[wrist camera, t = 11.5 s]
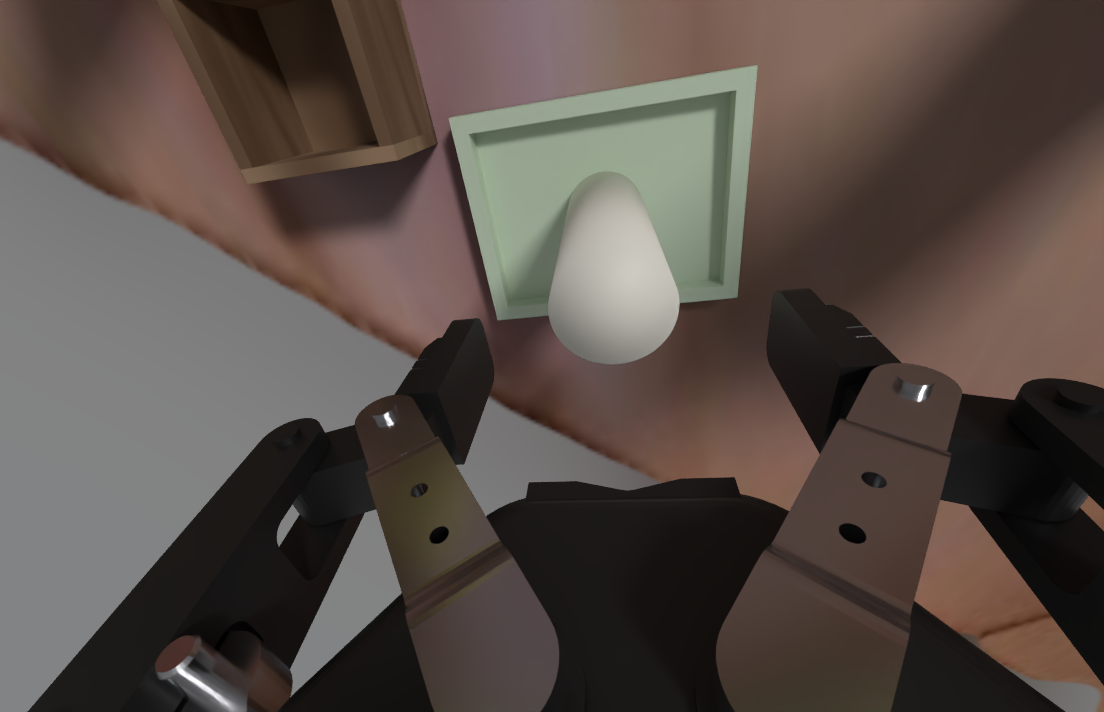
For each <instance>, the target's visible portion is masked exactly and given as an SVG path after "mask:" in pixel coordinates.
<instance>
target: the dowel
mask: <svg viewBox="0 0 1104 712" xmlns="http://www.w3.org/2000/svg"><path fill="white" fill-rule="evenodd" d="M678 313H679V294H678V290H677V287H676V284H675V281H674V279H673V276H672V274H671V271H670V269H669V266H668V264H667V261H666V258H665V256H664V253H663V251H662V248H661V246H660V243H659V241H658V238H657V236H656V233H655V230H654V228H653V225H652V223H651V220H650V218H649V215H648V213H647V210H646V208H645V205H644V202H643V200H642V197H641V195H640V192H639V190H638V188H637V187H636V185H635V184H634V183H633V182H632V181H631V180H630V179H629V178H627V177H626V176H624V175H622V174H620V173H617V172H612V171H602V172H597V173H594V174H592V175H590V176H588V177H586V178H585V179H584V180H582V181H581V182H580V183H579V184H578V185H577V187H576V188H575V190H574V191H573V193H572V195H571V198H570V201H569V205H568V210H567V215H566V220H565V224H564V229H563V234H562V239H561V243H560V248H559V253H558V257H557V262H556V267H555V272H554V276H553V281H552V286H551V291H550V295H549V301H548V314H549V320H550V324H551V326H552V329H553V331H554V333H555V335H556V336H557V338H558V339H559V340H560V342H561V343H562V344H563V345H564V346H565V347H566V348H567V349H568V350H570V351H571V352H572V353H574V354H575V355H577V356H579V357H581V358H583V359H585V360H588V361H591V362H595V363H600V364H623V363H628V362H632V361H635V360H638V359H641V358H643V357H645V356H647V355H648V354H650V353H652V352H653V351H655V350H656V349H657V348H658V347H659V346H661V345H662V343H663V342H664V341H665V340H666V339H667V338H668V336H669V335H670V334H671V332H672V330H673V328H674V326H675V324H676V321H677V318H678Z"/></svg>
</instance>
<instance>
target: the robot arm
mask: <svg viewBox="0 0 1104 712" xmlns="http://www.w3.org/2000/svg"><path fill="white" fill-rule="evenodd" d="M767 357H768V361H769V364H770V367H771V368H772V370H773V372H774V374H775V375H776V377H777V379H778V381H779V383H780V384H781V386H782V388H783V390H784V391H785V393H786V395H787V397H788V399H789V400H790V402H791V404H792V406H793V407H794V409H795V411H796V413H797V415H798V416H799V418H800V420H801V422H802V423H803V425H804V427H805V429H806V430H807V432H808V434H809V436H810V438H811V439H812V441H813V443H814V445H815V446H816V448H817V450H818V452H819V454H820V455H819V457H818V459H817V461H816V463H815V465H814V467H813V468H812V470H811V472H810V474H809V476H808V478H807V480H806V481H805V483H804V485H803V487H802V489H801V491H800V493H799V494H798V496H797V498H796V500H795V502H794V504H793V506H792V507H791V509H790V511H787V510H785V509H783V508H781V507H779V506H777V505H775V504H772V503H769V502H767V501H764V500H762V499H758V498H755V497H751V496H747V495H742V494H740V492H739V489H738V486H737V483H736V480H735V477H730V478H690V479H678V480H674V481H669V482H665V483H661V484H657V485H653V486H649V487H644V488H640V489H636V490H630V491H626V490H619V489H614V488H609V487H603V486H598V485H593V484H588V483H582V482H577V481H569V482H532V483H530V482H529V484H528V490H527V496H526V498H525V499H521V500H518V501H515V502H512V503H509V504H507V505H505V506H503V507H501V508H499V509H497V510H495V511H494V512H492V513H490V514H489V515H487V516H485V514H484V513H483V511H482V509H481V507H480V506H479V504H478V502H477V501H476V499H475V498H474V495H473V494H472V492H471V490H470V489H469V487H468V486H467V484H466V482H465V480H464V479H463V477H462V475H461V474H460V472H459V470H458V468H457V467H456V465H457V464H464V463H465V461H466V458H467V455H468V452H469V449H470V446H471V444H472V441H473V438H474V435H475V433H476V430H477V427H478V424H479V421H480V419H481V416H482V413H483V410H484V407H485V404H486V402H487V399H488V396H489V393H490V391H491V388H492V385H493V382H494V366H493V361H492V357H491V354H490V350H489V346H488V343H487V339H486V335H485V332H484V328H483V325H482V322H481V321H480V319H478V318H475V319H464V320H454V321H452V322H451V324H450V326H449V327H448V329H447V331H446V332H445V334H444V335H443V337H442V338H437V339H436V340H435V341H433V342H432V343H431V344H429V345H428V346H427V347H426V348H425V349H424V350H423V352H422V353H421V355H420V356H419V358H418V361H416V362H415V364H414V366H413V367H412V370H410V372H409V373H408V375H407V376H406V378H405V379H404V381H403V382H402V384H401V386H400V387H399V389H398V390H397V392H396V393H395V395H391V396H387V397H384V398H381V399H379V400H377V401H374V402H373V403H371V404H370V405H368V406H367V407H365V408H364V409H363V410H362V411H361V412H360V413H359V415H358V416H357V418H356V420H355V425H353V426H349V427H345V428H342V429H338V430H334V431H330V432H327V433H325V432H324V430H323V428H322V426H321V425H320V423H319V422H318V421H317V420H315V419H312V418H303V419H298V420H294V421H291V422H288V423H286V424H283V425H282V426H280V427H278V428H276V429H274V430H273V431H272V432H270V433H269V434H268V435H266V436H265V437H264V438H263V439H262V440H261V441H260V442H259V443H258V445H257V446H256V447H255V448H254V449H253V450H252V452H251V453H250V454H249V455H248V456H247V458H246V459H245V460H244V461H243V462H242V463H241V464H240V466H239V467H238V468H237V469H236V470H235V471H234V473H233V474H232V475H231V476H230V477H229V478H228V479H227V481H226V482H225V483H224V484H223V485H222V486H221V488H220V489H219V490H218V491H217V492H216V493H215V495H214V496H213V497H212V498H211V499H210V501H209V502H208V503H207V504H206V505H205V506H204V507H203V509H202V510H201V511H200V512H199V513H198V514H197V515H196V517H195V518H194V519H193V520H192V521H191V523H190V524H189V525H188V526H187V527H186V528H185V530H184V531H183V532H182V533H181V534H180V535H179V536H178V538H177V539H176V540H175V541H174V542H173V543H172V545H171V546H170V547H169V548H168V549H167V550H166V552H165V553H164V554H163V555H162V556H161V557H160V558H159V560H158V561H157V562H156V563H155V564H154V565H153V567H152V568H151V569H150V570H149V571H148V572H147V574H146V575H145V576H144V577H143V578H142V579H141V581H140V582H139V583H138V584H137V585H136V586H135V588H134V589H133V590H132V591H131V592H130V593H129V595H128V596H127V597H126V598H125V599H124V600H123V601H122V603H121V604H120V605H119V606H118V607H117V608H116V610H115V611H114V612H113V613H112V614H111V615H110V617H109V618H108V619H107V620H106V621H105V623H104V624H103V625H102V626H101V627H100V628H99V629H98V631H97V632H96V633H95V634H94V635H93V636H92V638H91V639H90V640H89V641H88V642H87V643H86V645H85V646H84V647H83V648H82V649H81V650H80V651H79V653H78V654H77V655H76V656H75V657H74V658H73V660H72V661H71V662H70V663H69V664H68V665H67V667H66V668H65V669H64V670H63V671H62V672H61V674H60V675H59V676H58V677H57V678H56V679H55V681H54V682H53V683H52V684H51V685H50V686H49V687H48V689H47V690H46V691H45V692H44V693H43V695H42V696H41V697H40V698H39V699H38V700H37V701H36V703H35V704H34V705H33V706H32V707H31V708H30V710H29V711H28V712H1065V711H1064V710H1062V709H1061V708H1060V707H1058V706H1057V705H1055V704H1054V703H1053V702H1051V701H1050V700H1049V699H1047V698H1046V697H1045V696H1043V695H1042V694H1040V693H1039V692H1038V691H1036V690H1035V689H1034V688H1032V687H1031V686H1029V685H1028V684H1027V683H1025V682H1024V681H1023V680H1021V679H1020V678H1019V677H1017V676H1016V675H1015V674H1013V673H1012V672H1010V671H1009V670H1008V669H1006V668H1005V667H1004V666H1002V665H1001V664H1000V663H998V662H997V661H995V660H994V659H993V658H991V657H990V656H989V655H987V654H986V653H985V652H983V651H982V650H980V649H979V648H978V647H976V646H975V645H974V644H972V643H971V642H969V641H968V640H967V639H965V638H964V637H962V636H961V635H960V634H959V633H957V632H956V631H955V630H953V629H952V628H950V627H949V626H948V625H946V624H945V623H944V622H942V621H941V620H940V619H938V618H937V617H935V616H934V615H933V614H931V613H930V612H929V611H927V610H926V609H925V608H923V607H922V606H920V605H919V604H918V603H916V602H915V601H914V599H915V595H916V591H917V587H918V583H919V579H920V575H921V572H922V568H923V564H924V560H925V556H926V552H927V548H928V544H929V541H930V537H931V533H932V529H933V525H934V521H935V517H936V513H937V510H938V506H939V502H940V500H944V501H949V502H954V503H959V504H964V505H968V506H969V507H970V509H971V510H972V512H973V513H974V514H975V515H976V517H977V518H978V519H979V521H980V522H981V523H982V525H983V526H984V527H985V529H986V530H987V531H988V533H989V534H990V535H991V537H992V538H993V539H994V541H995V542H996V543H997V545H998V546H999V547H1000V549H1001V550H1002V551H1003V553H1004V554H1005V555H1006V557H1007V558H1008V559H1009V561H1010V562H1011V563H1012V565H1013V566H1014V567H1015V569H1016V570H1017V571H1018V573H1019V574H1020V575H1021V576H1022V578H1023V579H1024V580H1025V582H1026V583H1027V584H1028V586H1029V587H1030V588H1031V590H1032V591H1033V592H1034V594H1035V595H1036V596H1037V598H1038V599H1039V600H1040V602H1041V603H1042V604H1043V606H1044V607H1045V608H1046V610H1047V611H1048V612H1049V614H1050V615H1051V616H1052V618H1053V619H1054V620H1055V622H1056V623H1057V624H1058V626H1059V627H1060V628H1061V630H1062V631H1063V632H1064V633H1065V635H1066V636H1067V637H1068V639H1069V640H1070V641H1071V643H1072V644H1073V645H1074V647H1075V648H1076V649H1077V651H1078V652H1079V653H1080V655H1081V656H1082V657H1083V659H1084V660H1085V661H1086V663H1087V664H1088V665H1089V667H1090V668H1091V669H1092V671H1093V672H1094V673H1095V675H1096V676H1097V677H1098V679H1099V680H1100V681H1101V683H1102V684H1103V685H1104V531H1103V530H1102V529H1101V528H1100V527H1099V526H1098V525H1097V524H1096V523H1095V522H1094V521H1093V520H1092V519H1091V518H1090V517H1089V516H1088V515H1087V514H1086V513H1085V512H1084V511H1083V510H1082V509H1081V508H1080V507H1081V505H1082V504H1083V503H1084V501H1085V500H1086V499H1087V497H1088V496H1090V497H1091V498H1092V499H1093V500H1094V501H1095V502H1096V503H1097V504H1098V505H1099V506H1101V507H1102V508H1103V509H1104V389H1103V388H1100V387H1097V386H1094V385H1090V384H1087V383H1082V382H1078V381H1072V380H1066V379H1056V378H1045V379H1036V380H1031V381H1029V382H1026V383H1025V384H1023V386H1022V387H1021V389H1020V391H1019V392H1018V394H1017V396H1016V398H1015V400H1009V399H1001V398H993V397H984V396H976V395H968V394H962V390H961V388H960V386H959V385H958V384H957V383H956V382H955V381H954V380H953V379H951V378H950V377H948V376H947V375H945V374H943V373H941V372H939V371H936V370H934V369H931V368H928V367H924V366H920V365H914V364H907V363H901V362H900V361H899V360H898V359H897V358H896V357H895V356H894V355H893V354H892V353H891V352H890V351H889V350H888V349H887V348H886V347H885V346H884V345H883V344H882V343H881V342H880V341H879V340H878V339H877V338H876V337H873V336H872V333H871V332H870V331H869V330H868V329H867V328H866V327H863V325H862V324H861V323H860V322H859V321H858V320H857V319H856V318H855V317H854V316H853V315H852V314H851V313H849V312H847V311H844V310H842V309H840V308H838V307H836V306H834V305H827V306H826V305H825V304H824V303H823V302H822V301H821V300H820V299H819V298H818V297H817V296H816V295H815V293H814V292H813V291H812V290H811V289H809V288H806V289H795V290H784V291H777V292H776V293H775V294H774V296H773V300H772V307H771V315H770V322H769V330H768V338H767ZM292 504H293V505H294V507H295V508H296V510H297V511H298V512H299V514H300V515H299V516H298V518H297V520H296V521H295V523H294V524H293V526H292V527H291V529H290V531H289V532H288V534H287V535H286V537H285V539H284V540H283V542H282V544H281V545H280V547H279V546H278V544H277V530H278V527H279V525H280V522H281V520H282V519H283V518H284V516H285V515H286V513H287V512H288V510H289V509H290V507H291V506H292ZM375 509H376V510H377V513H378V516H379V519H380V523H381V526H382V529H383V532H384V536H385V539H386V542H387V545H388V549H389V552H390V555H391V558H392V562H393V565H394V568H395V571H396V575H397V578H398V581H399V584H400V588H401V591H402V594H401V595H400V596H398V597H397V598H396V599H395V600H394V601H393V602H392V603H391V604H390V605H389V606H388V607H387V608H386V609H384V610H383V611H382V612H381V613H380V614H379V615H378V616H377V617H376V618H375V619H374V620H373V621H372V622H371V623H370V624H368V625H367V626H366V627H365V628H364V629H363V630H362V631H361V632H360V633H359V634H358V635H357V636H356V637H354V638H353V639H352V640H351V641H350V642H349V643H348V644H347V645H346V646H345V647H344V648H343V649H342V650H341V651H339V652H338V653H337V654H336V655H335V656H334V657H333V658H332V659H331V660H330V661H329V662H328V663H327V664H326V665H324V666H323V667H322V668H321V669H320V670H319V671H318V672H317V673H316V674H315V675H314V676H313V677H312V678H310V679H309V680H308V681H307V682H306V683H305V684H304V685H303V686H302V687H301V688H300V689H299V690H298V691H297V692H295V693H294V695H292V696H291V692H292V683H293V680H292V674H291V671H290V668H291V666H292V663H293V662H294V660H295V657H296V655H297V653H298V651H299V649H300V647H301V645H302V643H303V640H304V639H305V637H306V634H307V632H308V630H309V628H310V626H311V624H312V622H313V620H314V618H315V616H316V614H317V612H318V609H319V607H320V605H321V603H322V601H323V599H324V597H325V595H326V593H327V591H328V588H329V586H330V584H331V582H332V580H333V578H334V576H335V574H336V572H337V570H338V568H339V566H340V563H341V561H342V559H343V557H344V555H345V553H346V551H347V548H348V547H349V545H350V543H351V540H352V538H353V536H354V534H355V532H356V530H357V528H358V526H359V524H360V521H361V520H362V518H363V515H364V513H365V512H368V511H371V510H375ZM290 696H291V697H290Z"/></svg>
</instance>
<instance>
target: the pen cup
mask: <svg viewBox="0 0 1104 712" xmlns="http://www.w3.org/2000/svg"><path fill="white" fill-rule="evenodd" d="M157 2H158V4H159V6H160V8H161V10H162V12H163V14H164V16H165V18H166V20H167V22H168V24H169V26H170V28H171V30H172V32H173V34H174V37H175V39H176V41H177V43H178V45H179V47H180V49H181V51H182V53H183V55H184V57H185V59H186V61H187V63H188V65H189V67H190V69H191V71H192V73H193V75H194V77H195V79H196V81H197V83H198V85H199V87H200V89H201V91H202V93H203V95H204V97H205V99H206V101H207V103H208V105H209V107H210V109H211V111H212V113H213V115H214V117H215V119H216V121H217V123H218V125H219V127H220V129H221V131H222V133H223V135H224V137H225V139H226V141H227V143H228V145H229V147H230V149H231V151H232V154H233V156H234V158H235V160H236V162H237V164H238V166H239V168H240V170H241V172H242V174H243V176H244V178H245V180H246V182H247V184H252V183H258V182H264V181H271V180H277V179H283V178H290V177H296V176H302V175H309V174H315V173H321V172H328V171H334V170H340V169H346V168H353V167H359V166H365V165H372V164H378V163H384V162H391V161H397V160H400V159H402V158H405V157H407V156H409V155H412V154H414V153H416V152H419V151H421V150H424V149H426V148H428V147H431V146H433V145H435V144H438V143H437V139H436V135H435V131H434V128H433V124H432V120H431V116H430V112H429V108H428V105H427V101H426V97H425V93H424V89H423V86H422V82H421V78H420V74H419V70H418V66H417V63H416V59H415V55H414V51H413V47H412V44H411V40H410V36H409V32H408V28H407V24H406V21H405V17H404V13H403V9H402V5H401V2H400V0H157Z"/></svg>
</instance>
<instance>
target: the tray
mask: <svg viewBox="0 0 1104 712" xmlns="http://www.w3.org/2000/svg"><path fill="white" fill-rule="evenodd" d="M756 76H757V65H756V66H745V67H739V68H733V69H727V70H721V71H715V72H710V73H704V74H698V75H692V76H686V77H680V78H675V79H669V80H663V81H657V82H651V83H645V84H640V85H634V86H628V87H622V88H616V89H610V90H605V91H599V92H593V93H587V94H581V95H575V96H570V97H564V98H558V99H552V100H546V101H540V102H534V103H529V104H523V105H517V106H511V107H505V108H499V109H494V110H488V111H482V112H476V113H470V114H464V115H459V116H455V117H451V118H449V122H450V126H451V131H452V135H453V139H454V143H455V147H456V151H457V155H458V159H459V163H460V168H461V172H462V176H463V180H464V184H465V188H466V192H467V196H468V200H469V205H470V209H471V213H472V217H473V221H474V225H475V229H476V233H477V237H478V242H479V246H480V250H481V254H482V258H483V262H484V266H485V270H486V274H487V279H488V283H489V287H490V291H491V295H492V299H493V303H494V307H495V312H496V316H497V320H507V319H518V318H529V317H539V316H549V314H548V301H549V295H550V291H551V286H552V281H553V276H554V272H555V267H556V262H557V257H558V253H559V248H560V243H561V239H562V234H563V229H564V224H565V220H566V215H567V210H568V205H569V201H570V198H571V195H572V193H573V191H574V190H575V188H576V187H577V185H578V184H579V183H580V182H581V181H582V180H584V179H585V178H586V177H588V176H590V175H592V174H594V173H597V172H602V171H612V172H617V173H620V174H622V175H624V176H626V177H627V178H629V179H630V180H631V181H632V182H633V183H634V184H635V185H636V187H637V188H638V190H639V192H640V195H641V197H642V200H643V202H644V205H645V208H646V210H647V213H648V215H649V218H650V220H651V223H652V225H653V228H654V230H655V233H656V236H657V238H658V241H659V243H660V246H661V248H662V251H663V253H664V256H665V258H666V261H667V264H668V266H669V269H670V271H671V274H672V276H673V279H674V281H675V284H676V287H677V290H678V294H679V303H687V302H697V301H708V300H718V299H729V298H737V297H738V285H739V273H740V262H741V250H742V239H743V227H744V215H745V204H746V192H747V181H748V169H749V157H750V146H751V134H752V123H753V111H754V99H755V88H756Z"/></svg>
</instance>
